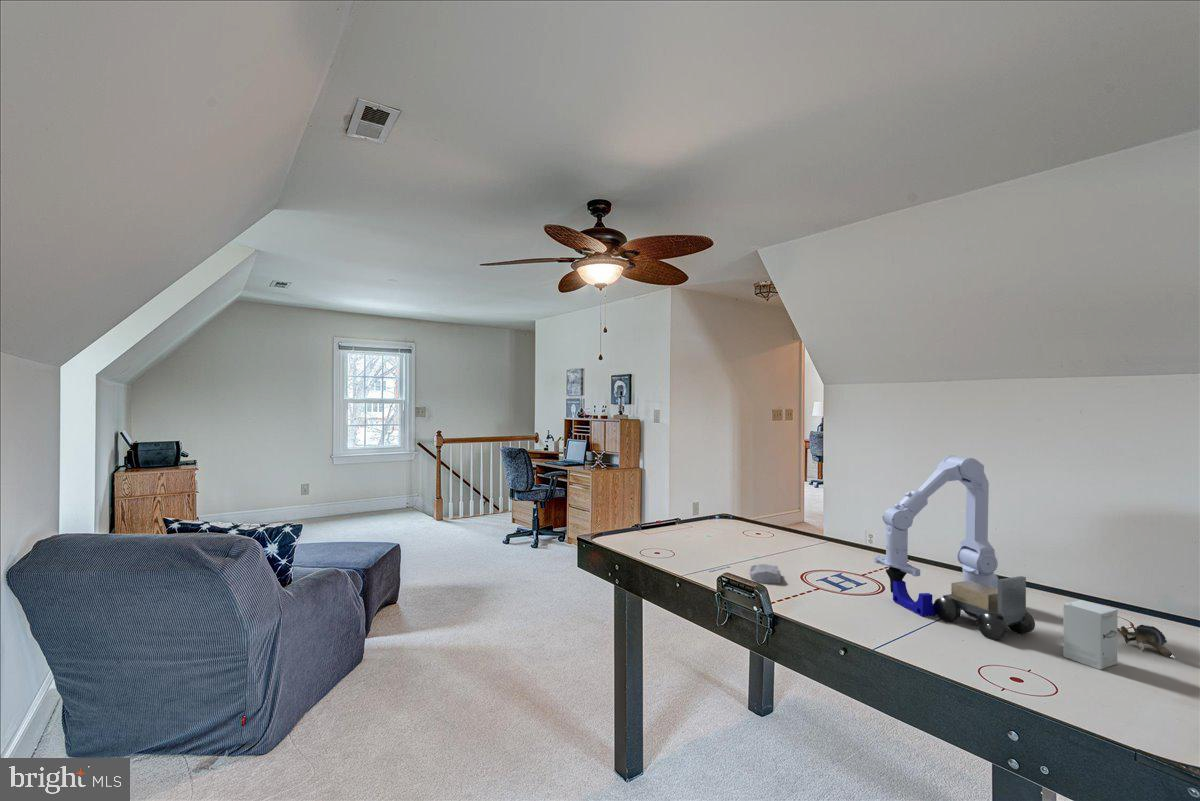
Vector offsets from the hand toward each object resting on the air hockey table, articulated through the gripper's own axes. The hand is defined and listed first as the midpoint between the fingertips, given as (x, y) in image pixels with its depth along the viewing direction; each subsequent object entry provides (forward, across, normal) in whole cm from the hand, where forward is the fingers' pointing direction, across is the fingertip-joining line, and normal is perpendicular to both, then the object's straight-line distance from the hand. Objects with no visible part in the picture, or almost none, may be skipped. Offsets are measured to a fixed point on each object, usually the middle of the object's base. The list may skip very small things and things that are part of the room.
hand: (896, 593), depth 162 cm
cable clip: (+2, +7, -1) cm, 7 cm away
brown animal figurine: (+2, +45, +30) cm, 54 cm away
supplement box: (+2, +44, +10) cm, 45 cm away
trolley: (+2, +22, +5) cm, 23 cm away
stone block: (+3, -30, -25) cm, 40 cm away
